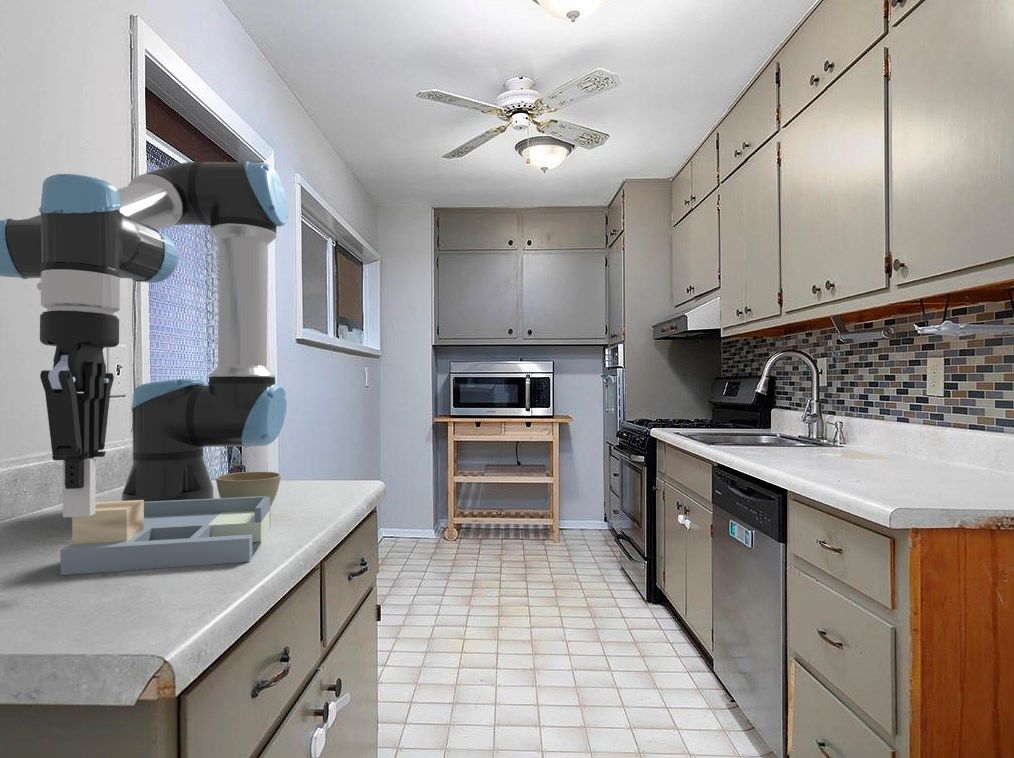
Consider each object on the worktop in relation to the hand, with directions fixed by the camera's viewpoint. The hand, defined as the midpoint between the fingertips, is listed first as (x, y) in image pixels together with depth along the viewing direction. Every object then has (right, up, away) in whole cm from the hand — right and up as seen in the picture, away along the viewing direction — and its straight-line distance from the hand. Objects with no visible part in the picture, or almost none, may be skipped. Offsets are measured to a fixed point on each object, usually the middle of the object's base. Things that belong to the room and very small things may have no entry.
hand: (79, 515), depth 69 cm
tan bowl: (+6, -8, +31) cm, 33 cm away
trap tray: (+4, -8, +13) cm, 16 cm away
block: (-2, -5, +8) cm, 10 cm away
